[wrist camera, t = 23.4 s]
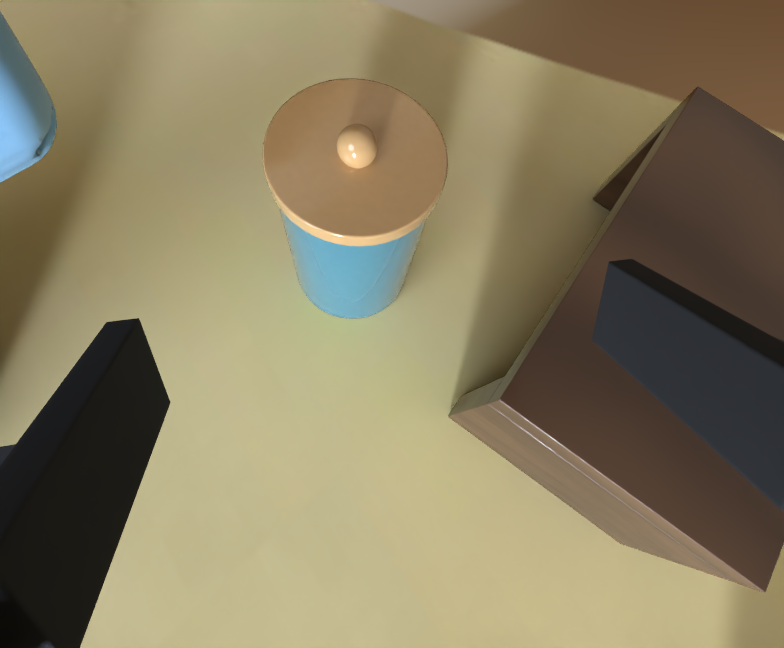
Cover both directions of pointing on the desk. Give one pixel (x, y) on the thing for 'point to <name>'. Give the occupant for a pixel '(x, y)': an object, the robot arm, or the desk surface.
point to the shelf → (624, 393)
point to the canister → (353, 189)
